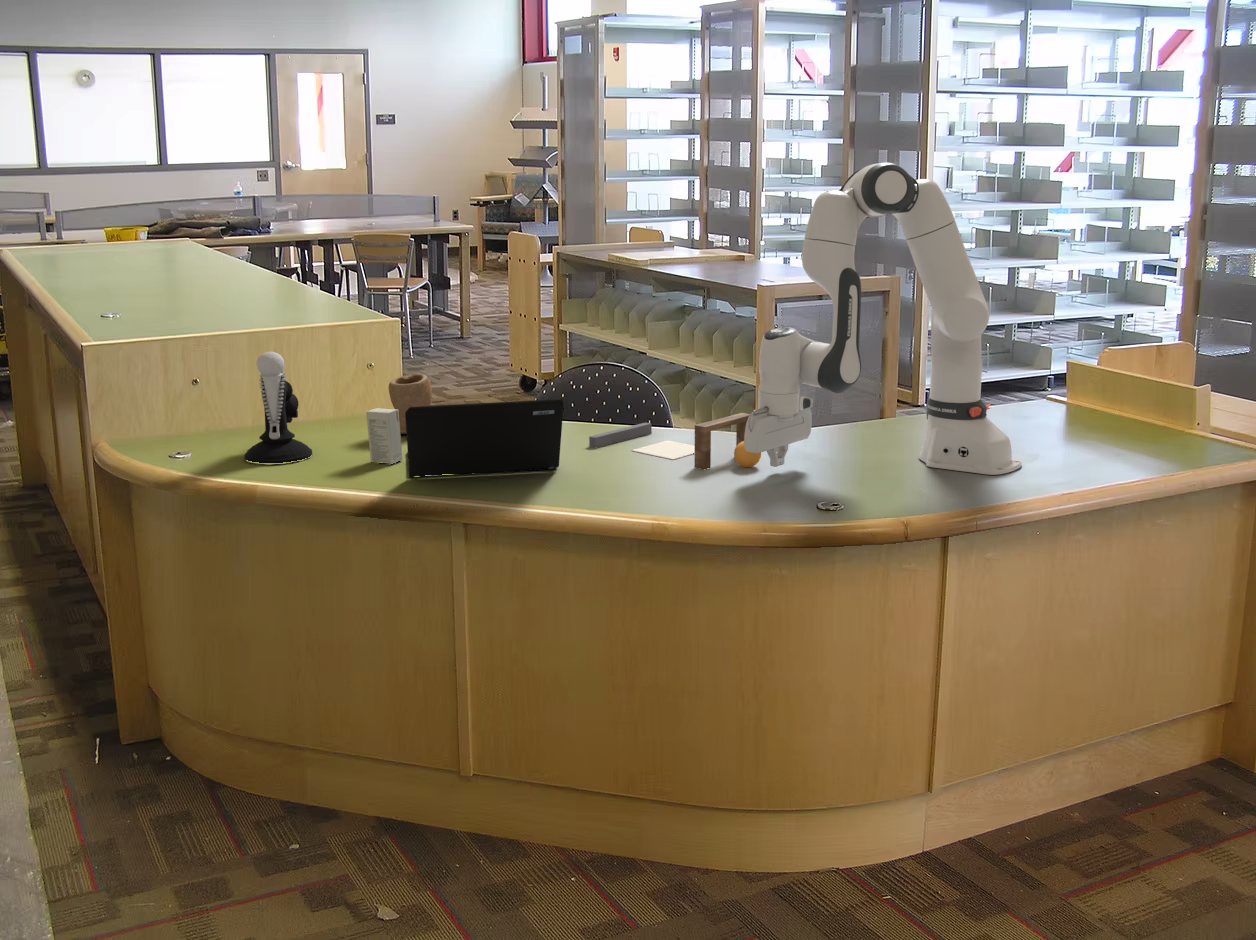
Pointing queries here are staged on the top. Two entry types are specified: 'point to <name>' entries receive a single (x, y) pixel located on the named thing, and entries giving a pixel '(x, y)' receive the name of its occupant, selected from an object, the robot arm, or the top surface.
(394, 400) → the stone cup
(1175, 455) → the top surface
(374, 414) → the skincare box
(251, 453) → the sculpture
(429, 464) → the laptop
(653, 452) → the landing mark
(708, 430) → the bridge
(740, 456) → the ball
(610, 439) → the wall
